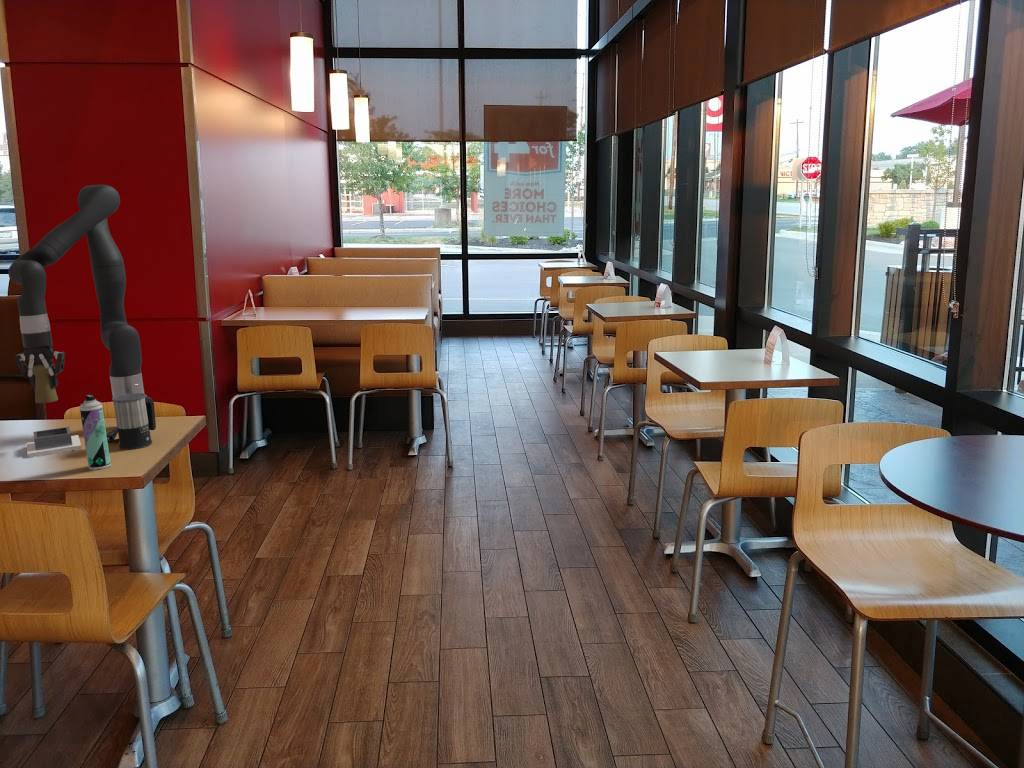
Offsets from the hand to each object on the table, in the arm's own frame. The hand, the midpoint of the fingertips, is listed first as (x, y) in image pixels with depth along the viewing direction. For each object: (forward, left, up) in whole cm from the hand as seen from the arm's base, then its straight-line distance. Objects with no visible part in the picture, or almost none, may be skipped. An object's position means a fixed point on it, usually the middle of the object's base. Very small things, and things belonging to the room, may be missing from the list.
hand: (44, 387), depth 264 cm
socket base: (0, 0, -18) cm, 18 cm away
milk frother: (-21, 0, -19) cm, 28 cm away
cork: (0, 0, -4) cm, 4 cm away
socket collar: (0, 0, -17) cm, 17 cm away
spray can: (-22, +23, -18) cm, 37 cm away
